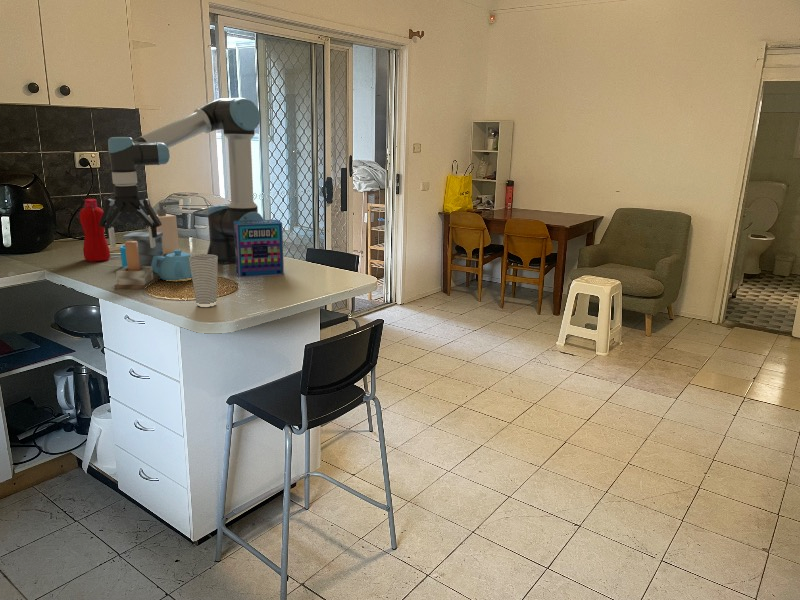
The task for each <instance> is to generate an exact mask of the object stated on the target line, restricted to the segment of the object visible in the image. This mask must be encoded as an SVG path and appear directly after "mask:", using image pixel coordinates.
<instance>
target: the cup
mask: <svg viewBox="0 0 800 600" xmlns="http://www.w3.org/2000/svg"><path fill="white" fill-rule="evenodd" d="M189 263H190V269H191V275H192V280H191V281H192V285H193V291H194V293H193V294H194V298H195V304H196V303H199V304H210V303H214V302H216V301H218V264H219V263H218V256H216V255H212V254H207V253H206V254H204V253H203V254H201V253H200V254H194V255H191V256H190V257H189Z"/></svg>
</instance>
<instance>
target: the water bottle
mask: <svg viewBox="0 0 800 600" xmlns="http://www.w3.org/2000/svg"><path fill="white" fill-rule="evenodd" d="M97 203H98V202H97V199H95V198H87V199H86V198H85V199H84V207H83V208H82V209H80V211H79V213H78V215H79V222H80V225H81V227H82V231H83V234H84V239H83V249H82V252H83V257H84V260H85V261H88V262H89V263H93V262H105V261H109V260H110V258H111V251H110V248H109V244H108V241H107V237H106V233H105V231H106V229H105V228H104V227H100V226H99V223H100V220H101V217H102V215H103V212H104V209H102V208H101V207H98V204H97Z"/></svg>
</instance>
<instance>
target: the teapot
mask: <svg viewBox="0 0 800 600" xmlns="http://www.w3.org/2000/svg"><path fill="white" fill-rule="evenodd" d="M190 256H192V255H191V254H190V253H188V252H183V250H182V249H179V250H174V253H169V254H165V256H163V257H162V256H155V255H154V256H153V260H152V264H151V266H152V268H153V271H154V272H156V273H157V274H158V275H159V276H160V277H161V278H160V279H161V280H163V281H164V280H179V279H187V278H192V275H191V269H190V263H189V257H190ZM157 260H161V261H162V263H161V265H160V268H159V267H157V266H156V263H157Z"/></svg>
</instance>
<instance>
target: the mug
mask: <svg viewBox="0 0 800 600" xmlns="http://www.w3.org/2000/svg"><path fill="white" fill-rule="evenodd" d="M119 249H120V258H121V267H122V268H124V267H126V266H127V258H126V249H125V244H124V245H121V246H119ZM122 268H121V269H122Z"/></svg>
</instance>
